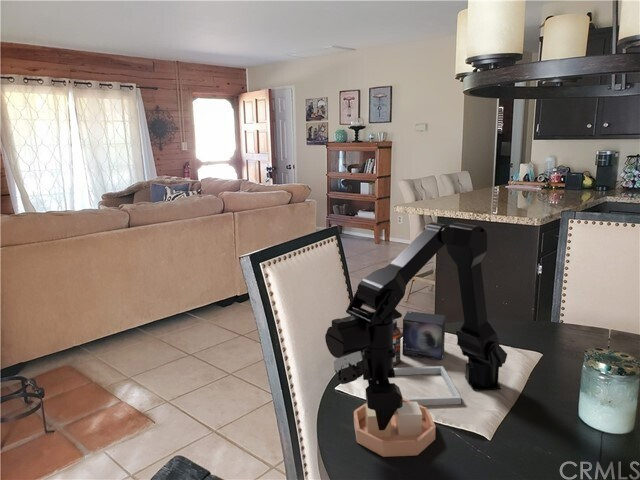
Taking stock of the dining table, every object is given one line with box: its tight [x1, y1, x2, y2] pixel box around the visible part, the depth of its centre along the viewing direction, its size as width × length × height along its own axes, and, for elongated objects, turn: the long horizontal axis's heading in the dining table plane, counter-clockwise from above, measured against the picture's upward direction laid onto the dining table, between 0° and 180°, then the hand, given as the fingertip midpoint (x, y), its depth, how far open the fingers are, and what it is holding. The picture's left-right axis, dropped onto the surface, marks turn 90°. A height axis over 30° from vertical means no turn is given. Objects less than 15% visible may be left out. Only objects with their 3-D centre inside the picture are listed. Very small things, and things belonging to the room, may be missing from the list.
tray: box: [393, 365, 462, 406], centre depth 110 cm, size 18×15×2 cm
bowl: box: [353, 397, 437, 458], centre depth 94 cm, size 15×15×3 cm
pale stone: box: [395, 402, 422, 436], centre depth 94 cm, size 4×4×4 cm
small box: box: [402, 310, 446, 361], centre depth 127 cm, size 11×6×10 cm, turn 68°
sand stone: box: [364, 403, 391, 437], centre depth 94 cm, size 4×4×4 cm
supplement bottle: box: [393, 319, 402, 366], centre depth 123 cm, size 6×6×11 cm
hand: (378, 415), depth 94 cm, fingers open, 9 cm apart
